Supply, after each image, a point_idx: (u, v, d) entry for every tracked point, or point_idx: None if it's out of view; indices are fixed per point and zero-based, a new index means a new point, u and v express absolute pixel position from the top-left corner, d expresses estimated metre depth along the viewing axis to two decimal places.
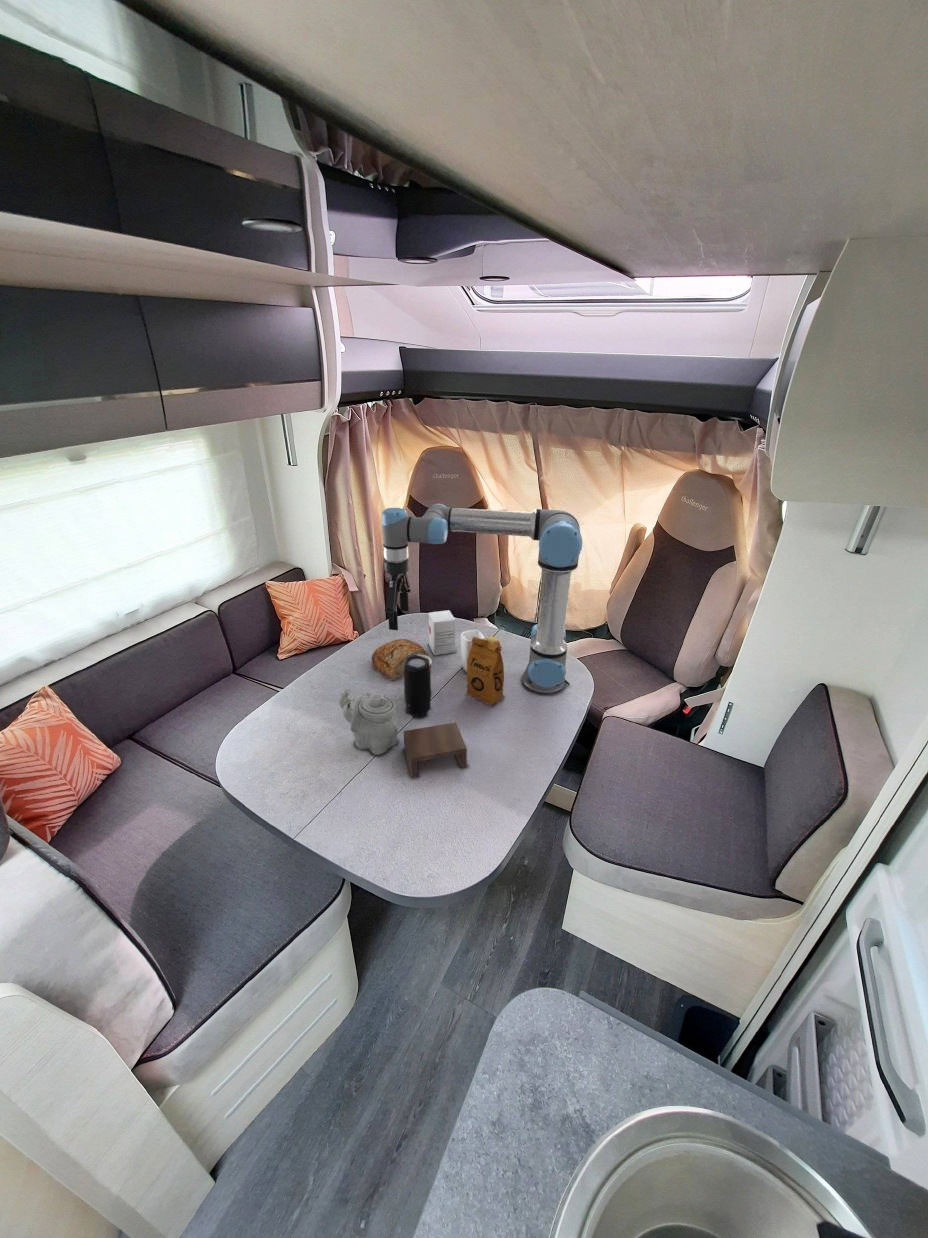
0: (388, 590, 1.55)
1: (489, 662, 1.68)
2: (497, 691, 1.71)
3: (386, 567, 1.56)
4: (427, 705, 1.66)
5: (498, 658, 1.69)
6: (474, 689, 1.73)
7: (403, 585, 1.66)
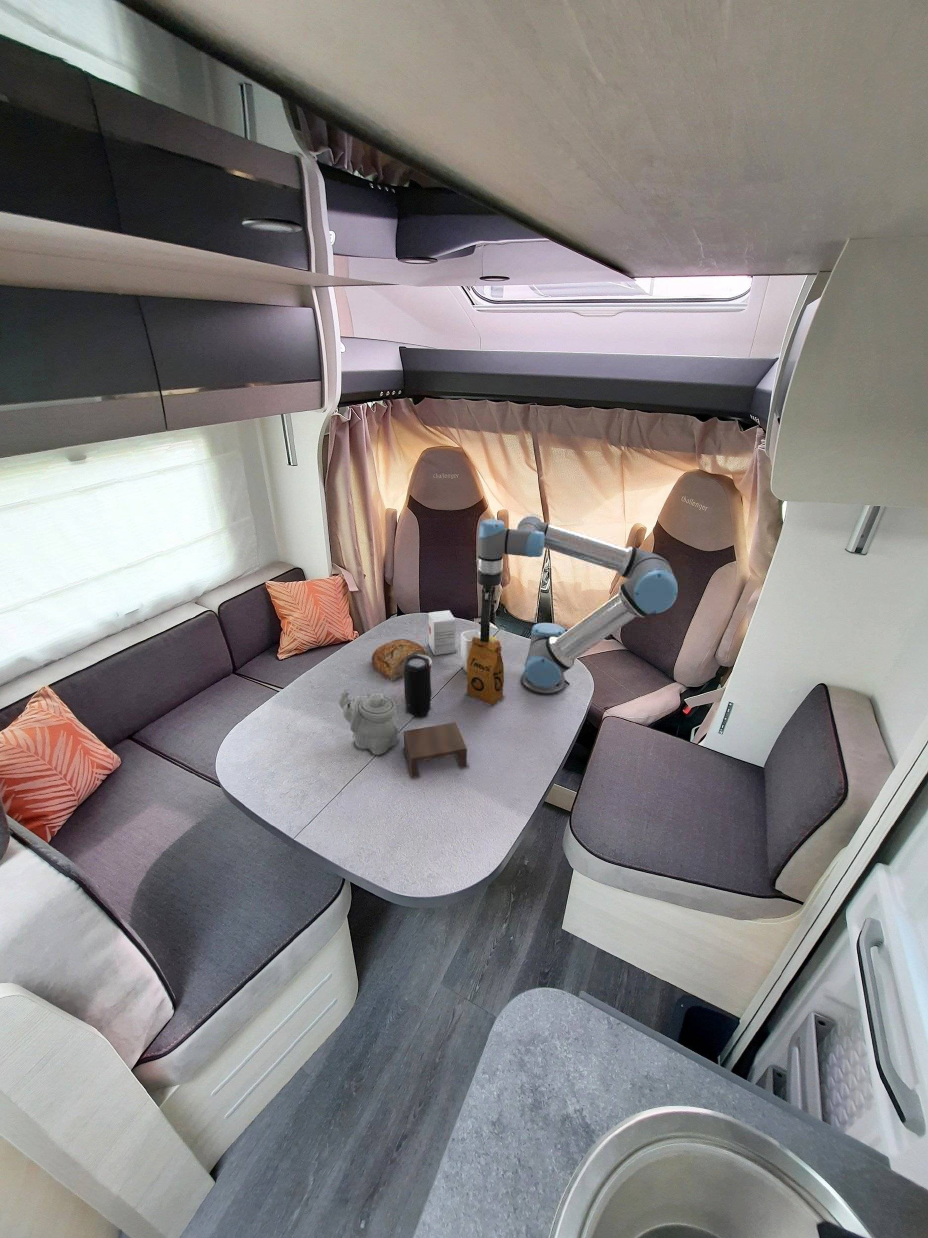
0: (483, 602, 1.53)
1: (489, 662, 1.68)
2: (497, 691, 1.71)
3: (480, 579, 1.55)
4: (427, 705, 1.66)
5: (498, 658, 1.69)
6: (474, 689, 1.73)
7: None
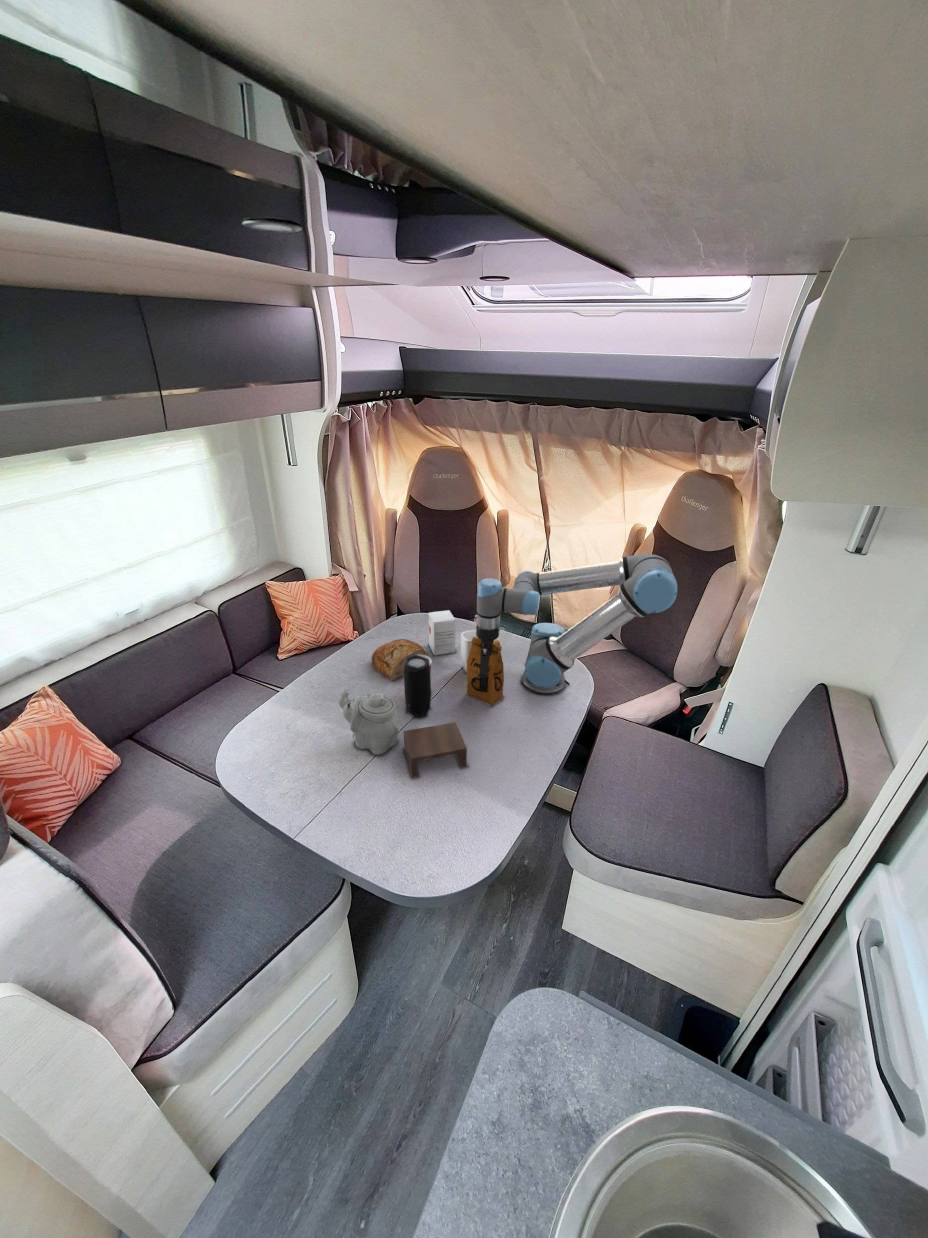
0: (482, 657, 1.63)
1: (489, 662, 1.68)
2: (497, 691, 1.71)
3: (479, 634, 1.64)
4: (427, 705, 1.66)
5: (498, 658, 1.69)
6: (474, 689, 1.73)
7: None
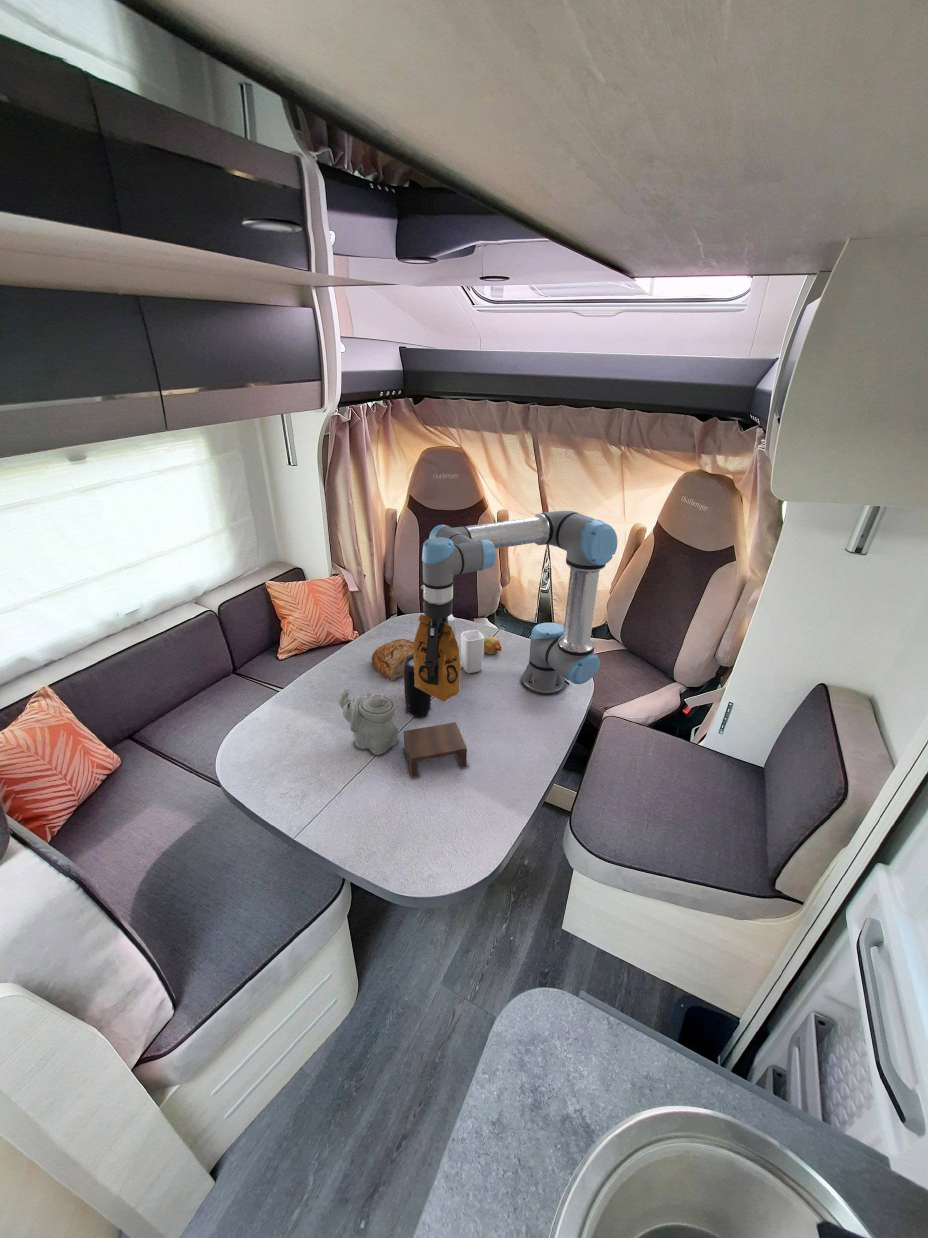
0: (428, 639, 1.27)
1: (439, 646, 1.32)
2: (450, 683, 1.35)
3: (426, 609, 1.28)
4: (427, 705, 1.66)
5: (452, 641, 1.34)
6: (422, 681, 1.37)
7: None
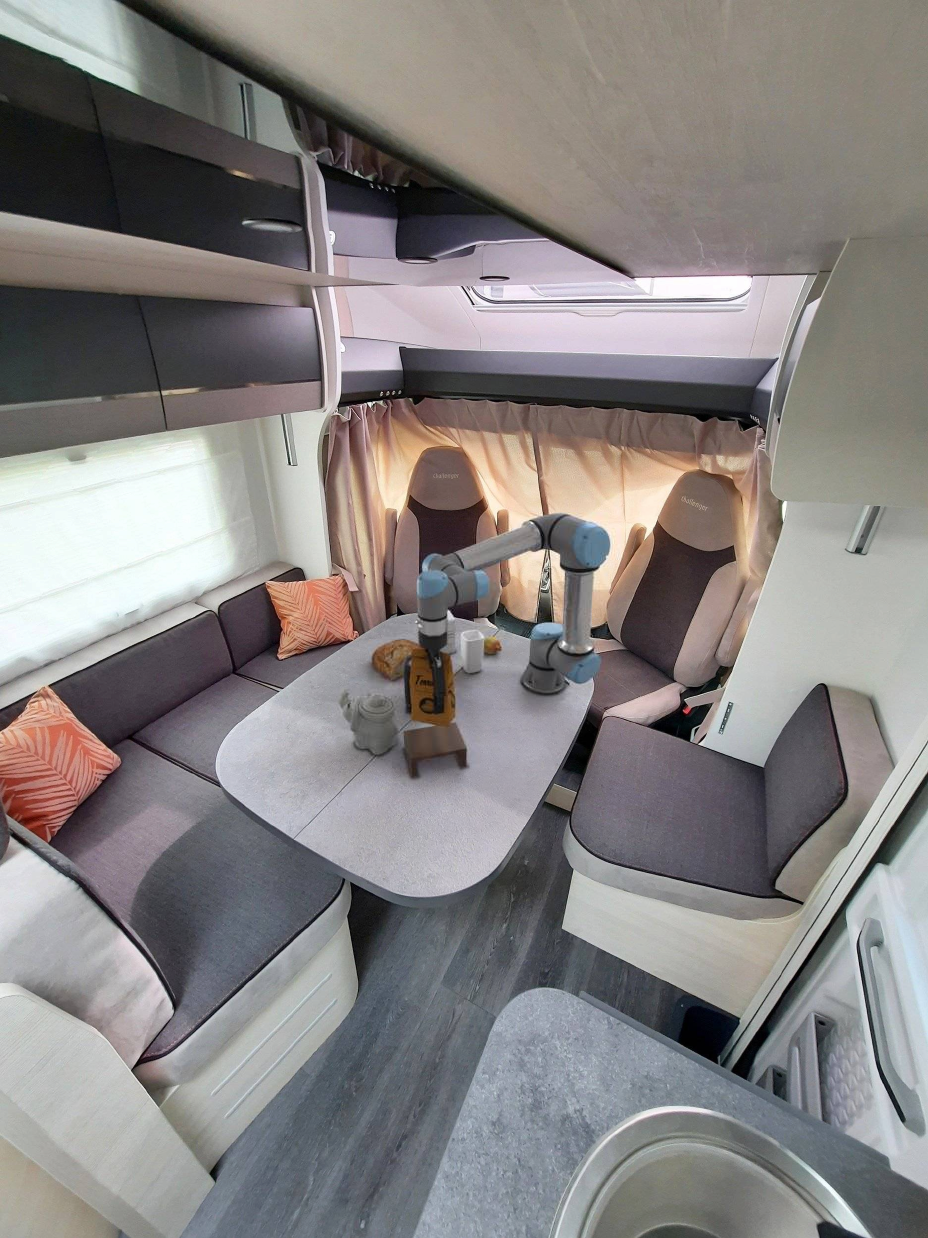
0: (436, 671, 1.28)
1: None
2: (453, 708, 1.38)
3: (426, 643, 1.28)
4: None
5: None
6: (423, 713, 1.37)
7: None
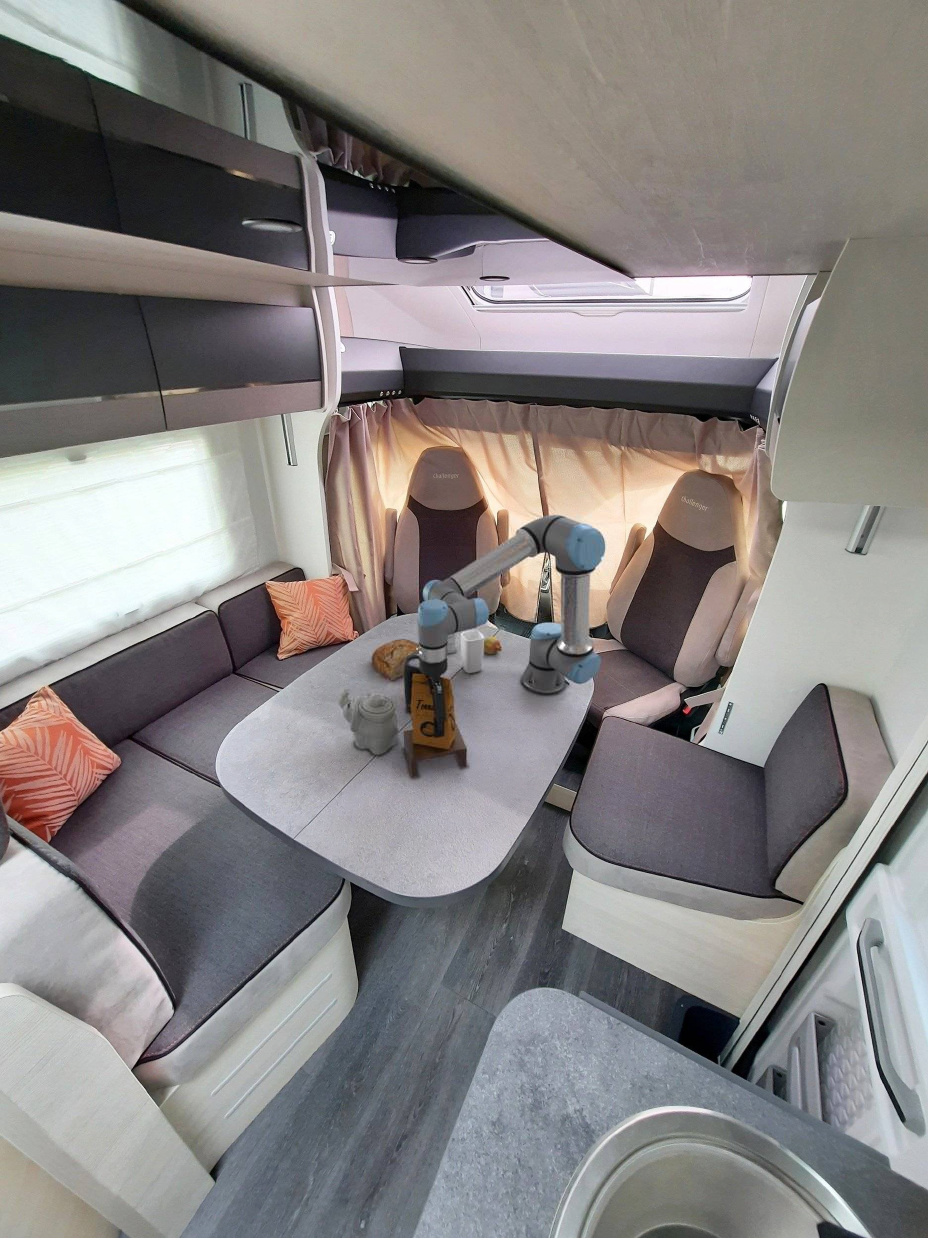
0: (436, 697, 1.32)
1: None
2: (453, 731, 1.42)
3: (426, 670, 1.32)
4: None
5: None
6: (424, 736, 1.41)
7: None
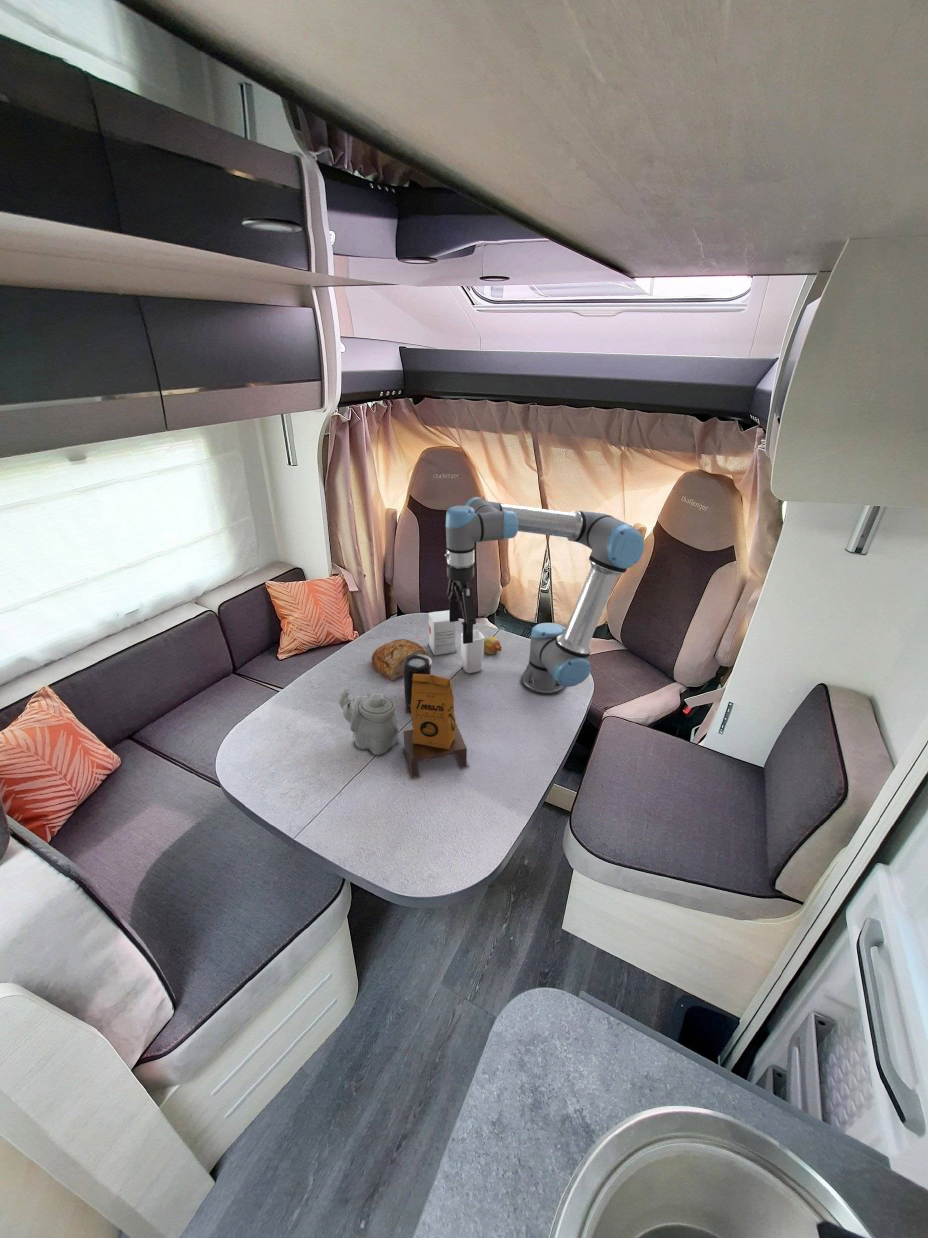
0: (465, 600, 1.37)
1: (440, 700, 1.37)
2: (453, 731, 1.42)
3: (454, 575, 1.37)
4: None
5: None
6: (424, 736, 1.41)
7: None
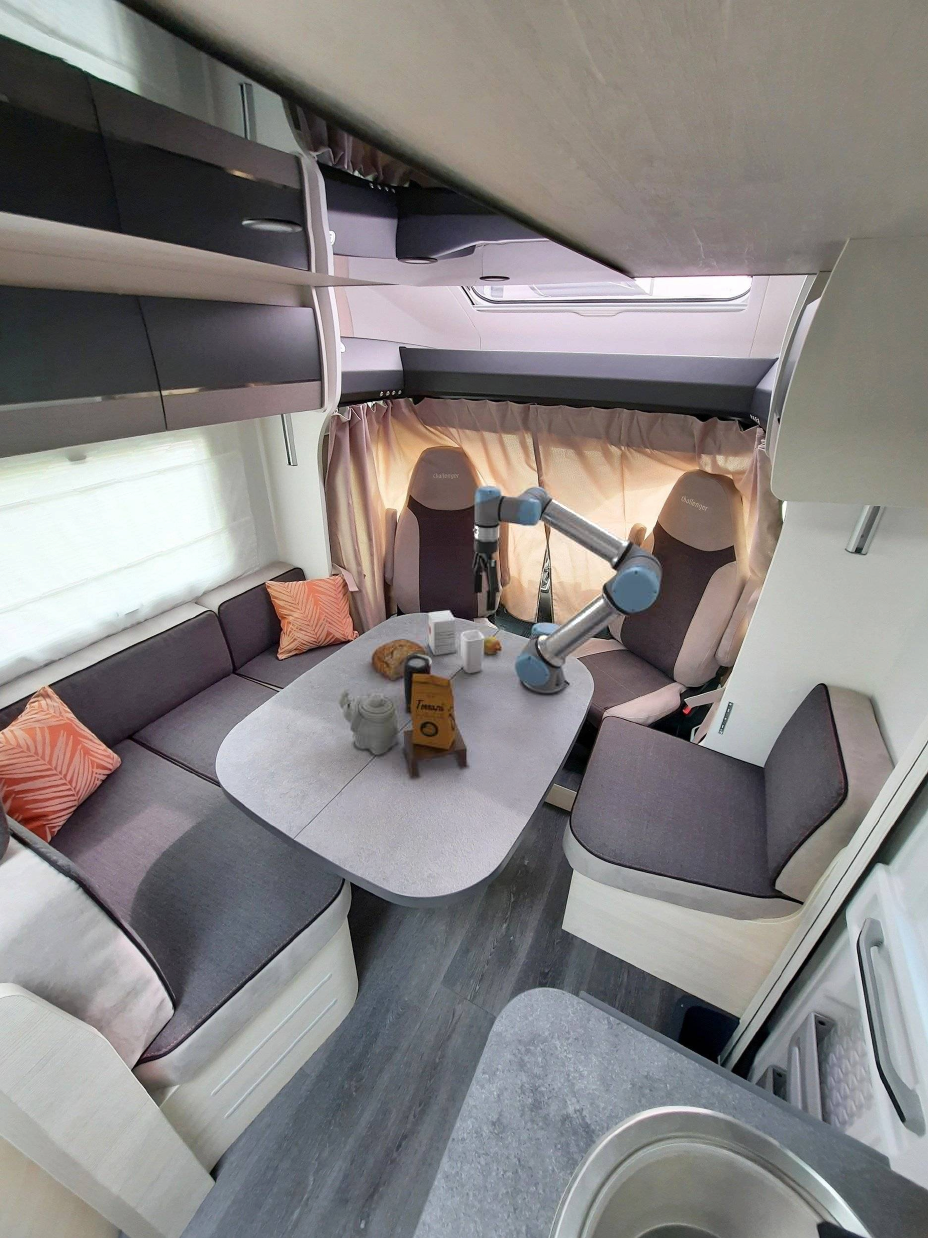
0: (490, 570, 1.53)
1: (440, 700, 1.37)
2: (453, 731, 1.42)
3: (481, 547, 1.54)
4: None
5: None
6: (424, 736, 1.41)
7: None
